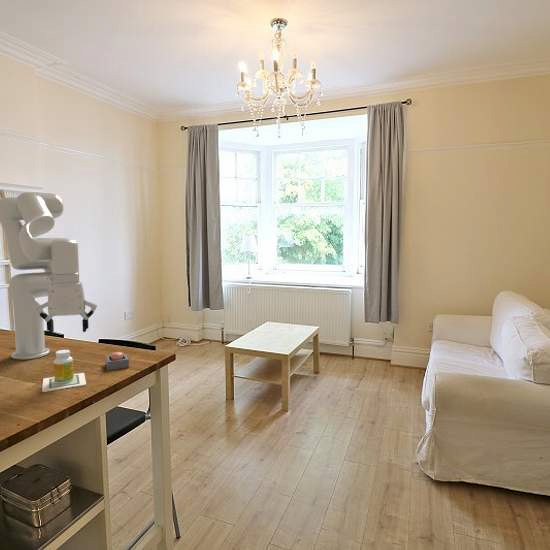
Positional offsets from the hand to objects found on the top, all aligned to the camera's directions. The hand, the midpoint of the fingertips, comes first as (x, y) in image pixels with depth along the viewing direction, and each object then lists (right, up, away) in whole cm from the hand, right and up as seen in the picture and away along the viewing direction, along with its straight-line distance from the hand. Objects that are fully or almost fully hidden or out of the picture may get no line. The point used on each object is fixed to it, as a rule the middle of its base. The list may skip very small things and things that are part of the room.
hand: (68, 331), depth 127 cm
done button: (+9, -13, +16) cm, 22 cm away
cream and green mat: (-1, -16, 0) cm, 16 cm away
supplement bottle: (-1, -16, 0) cm, 16 cm away
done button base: (+9, -15, +16) cm, 24 cm away
